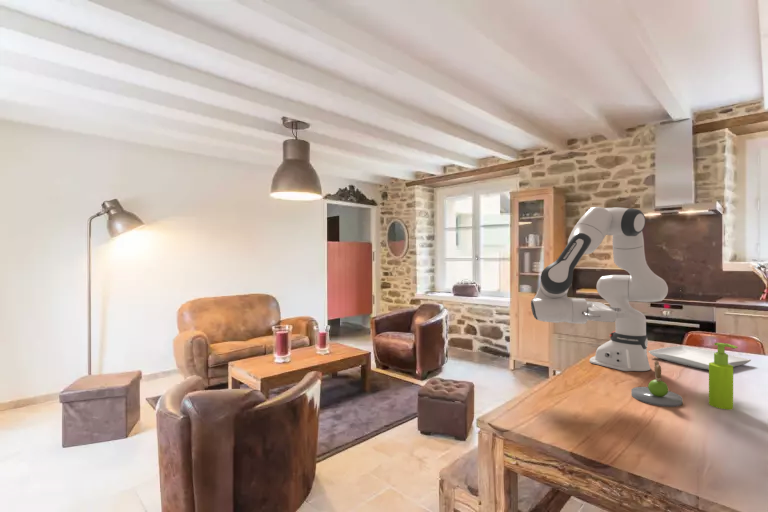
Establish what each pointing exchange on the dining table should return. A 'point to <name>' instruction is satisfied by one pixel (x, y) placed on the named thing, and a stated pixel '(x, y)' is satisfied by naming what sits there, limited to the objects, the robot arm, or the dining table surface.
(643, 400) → the slate coaster
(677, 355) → the square plate
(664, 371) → the dining table surface
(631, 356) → the robot arm
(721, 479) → the dining table surface
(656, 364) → the snail figurine
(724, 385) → the soap dispenser
